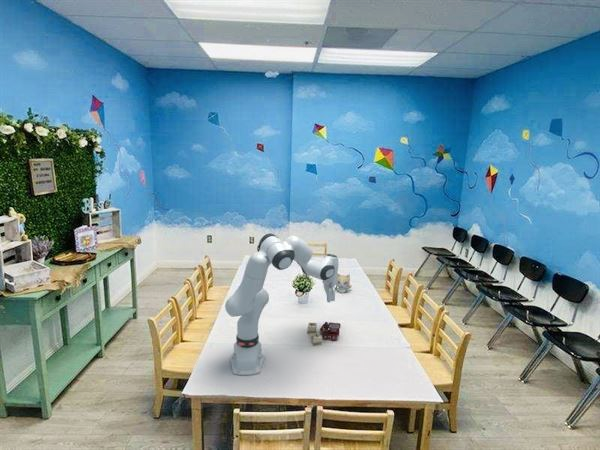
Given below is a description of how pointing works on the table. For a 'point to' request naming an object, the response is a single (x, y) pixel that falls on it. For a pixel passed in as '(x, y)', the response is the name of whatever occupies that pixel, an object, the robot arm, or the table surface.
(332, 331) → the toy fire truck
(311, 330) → the maple cube seven
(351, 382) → the table surface
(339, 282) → the kitten
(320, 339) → the maple cube one
